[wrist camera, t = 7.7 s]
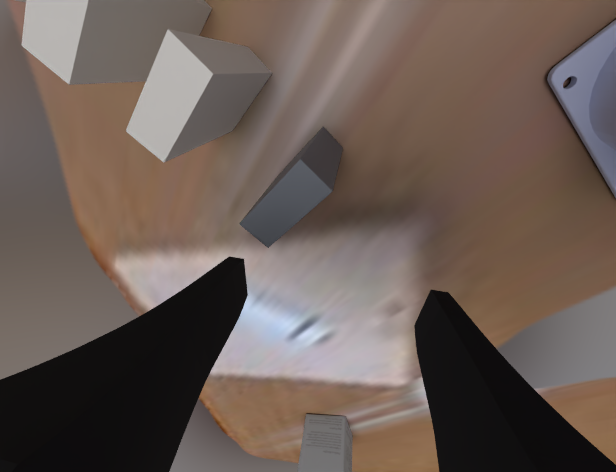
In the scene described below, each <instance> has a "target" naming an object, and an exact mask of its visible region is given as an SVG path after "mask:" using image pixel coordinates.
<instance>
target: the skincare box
mask: <svg viewBox="0 0 616 472" xmlns="http://www.w3.org/2000/svg"><path fill="white" fill-rule="evenodd" d="M297 472H352V433H351V430H350V427H349V425H348V422H347V419H346V417H345V416H333V415H317V414H306V418H305V425H304V432H303V439H302V445H301V452H300V458H299V464H298V471H297Z"/></svg>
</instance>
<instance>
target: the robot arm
mask: <svg viewBox="0 0 616 472" xmlns="http://www.w3.org/2000/svg"><path fill="white" fill-rule="evenodd" d="M568 77H571V82H570V84H569V85H568V86H567V87H565V88H563V83H564V81H565V80H566V79H567V78H568ZM547 80H548V83H549V85H550V87H551V88H552V90H553V92H554V93H555V95H556V97H557V99H558V100H559V102H560V104H561V105H562V107H563V109H564V111H565V112H566V114H567V116H568V117H569V119H570V121H571V123H572V124H573V126H574V128H575V129H576V131H577V133H578V134H579V136H580V138H581V140H582V141H583V143H584V145H585V146H586V148H587V150H588V152H589V153H590V155H591V157H592V158H593V160H594V162H595V164H596V165H597V167H598V169H599V170H600V172H601V174H602V176H603V177H604V179H605V181H606V182H607V184H608V186H609V188H610V189H611V191H612V193H613V194H614V196H615V198H616V20H614V21H613V22H612V23H611V24H609V25H608V26H607V27H605V28H604V29H603V30H601V31H600V32H599V33H597V34H596V35H595V36H593V37H592V38H591V39H590V40H588V41H587V42H586V43H584V44H583V45H582V46H580V47H579V48H578V49H576V50H575V51H574V52H573V53H571V54H570V55H569V56H567V57H566V58H565V59H563V60H562V61H561V62H559V63H558V64H557V65H556V66H554V67H553V68H552V69H551V71H550V73H549V74H548V79H547ZM247 295H248V294H247V284H246V275H245V266H244V259H241V258H235V257H228V258H227V259H225V260H224V261H222V262H221V263H220V264H218V265H217V266H215V267H214V268H213V269H211V270H210V271H209V272H207V273H206V274H204V275H203V276H202V277H200V278H199V279H197V280H196V281H195V282H193V283H192V284H190V285H189V286H187V287H186V288H184V289H183V290H181V291H180V292H178V293H177V294H175V295H174V296H172V297H171V298H169V299H167V300H166V301H164V302H163V303H161V304H160V305H158V306H157V307H155V308H153V309H152V310H150V311H148V312H146V313H145V314H143V315H141V316H139V317H138V318H136V319H134V320H132V321H130V322H129V323H127V324H125V325H123V326H121V327H119V328H117V329H116V330H113V331H111V332H109V333H107V334H105V335H103V336H101V337H99V338H97V339H95V340H93V341H91V342H89V343H87V344H85V345H82V346H81V347H78V348H76V349H74V350H72V351H69V352H67V353H65V354H62V355H60V356H58V357H56V358H53V359H51V360H49V361H46V362H44V363H41V364H39V365H37V366H34V367H32V368H30V369H27V370H24V371H22V372H19V373H17V374H14V375H12V376H9V377H6V378H4V379H1V380H0V472H169V471H170V468H171V465H172V463H173V460H174V458H175V455H176V453H177V450H178V447H179V445H180V442H181V439H182V437H183V434H184V432H185V429H186V427H187V424H188V422H189V419H190V417H191V415H192V412H193V409H194V407H195V405H196V402H197V400H198V398H199V395H200V393H201V391H202V388H203V386H204V384H205V381H206V379H207V377H208V375H209V373H210V371H211V369H212V367H213V366H214V364H215V362H216V360H217V358H218V356H219V354H220V352H221V351H222V349H223V347H224V345H225V343H226V341H227V339H228V338H229V336H230V334H231V332H232V330H233V328H234V326H235V324H236V322H237V320H238V319H239V316H240V314H241V311H242V309H243V306H244V303H245V301H246V298H247ZM415 338H416V347H417V355H418V359H419V364H420V369H421V373H422V378H423V382H424V387H425V391H426V396H427V400H428V404H429V409H430V413H431V418H432V423H433V429H434V434H435V441H436V449H437V457H438V464H439V472H616V465H615V464H614V463H613V462H612V461H611V460H610V459H608V458H607V457H606V456H605V455H604V454H603V453H602V452H600V451H599V450H598V449H597V448H596V447H595V446H594V445H592V444H591V443H590V442H589V441H588V440H587V439H586V438H585V437H583V436H582V435H581V434H580V433H579V432H578V431H577V430H576V429H575V428H574V427H573V426H571V425H570V424H569V423H568V422H567V421H566V420H565V419H564V418H563V417H562V416H561V415H560V414H559V413H558V412H557V411H556V410H555V409H554V408H553V407H552V406H550V405H549V404H548V403H547V402H546V401H545V400H544V399H543V398H542V397H541V396H540V395H539V394H538V393H537V392H536V391H535V390H534V389H533V388H532V387H531V386H530V385H529V384H528V383H527V382H526V381H525V380H524V379H523V378H522V376H521V375H520V374H519V373H518V372H517V371H516V370H515V369H514V368H513V367H512V366H511V365H510V364H509V363H508V362H507V360H506V359H505V358H504V357H503V356H502V355H501V354H500V353H499V352H498V350H497V349H496V348H495V347H494V346H493V345H492V344H491V342H490V341H489V340H488V339H487V338H486V337H485V336H484V334H483V333H482V332H481V331H480V330H479V328H478V327H477V326H476V325H475V324H474V322H473V321H472V320H471V319H470V318H469V316H468V315H467V314H466V313H465V312H464V310H463V309H462V308H461V307H460V306H459V304H458V303H457V302H456V301H455V300H454V298H453V297H452V296H451V295H450V294H449V293H448V292H442V291H436V290H431V291H430V293H429V295H428V297H427V299H426V301H425V304H424V306H423V308H422V310H421V312H420V314H419V317H418V319H417V321H416V323H415Z"/></svg>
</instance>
